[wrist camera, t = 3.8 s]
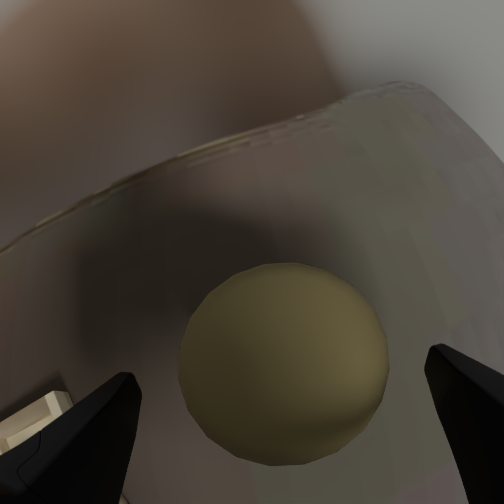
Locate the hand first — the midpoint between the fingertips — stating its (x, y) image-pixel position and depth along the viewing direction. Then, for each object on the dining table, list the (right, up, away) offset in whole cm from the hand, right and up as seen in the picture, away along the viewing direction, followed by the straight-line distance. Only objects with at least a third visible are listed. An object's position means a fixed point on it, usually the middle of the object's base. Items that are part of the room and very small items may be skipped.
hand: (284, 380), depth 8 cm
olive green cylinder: (+1, -3, +8) cm, 8 cm away
